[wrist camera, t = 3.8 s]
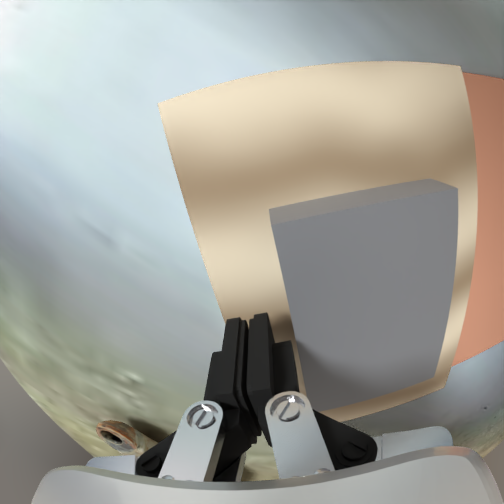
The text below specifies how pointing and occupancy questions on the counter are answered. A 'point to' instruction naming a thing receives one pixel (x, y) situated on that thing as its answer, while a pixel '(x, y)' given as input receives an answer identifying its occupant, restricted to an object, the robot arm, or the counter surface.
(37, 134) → the counter surface
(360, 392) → the tile
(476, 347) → the mat
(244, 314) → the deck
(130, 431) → the oil lamp
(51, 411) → the counter surface
